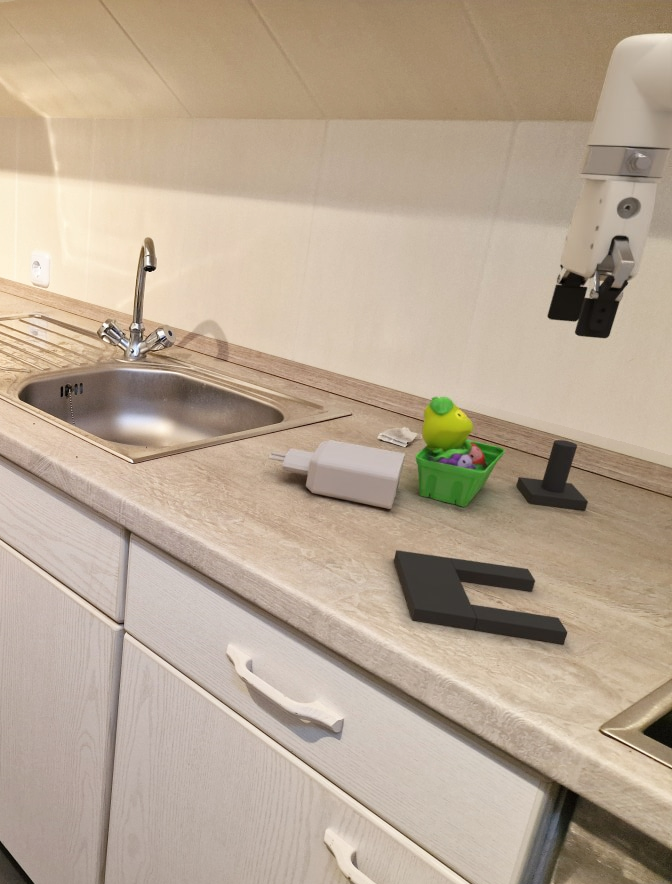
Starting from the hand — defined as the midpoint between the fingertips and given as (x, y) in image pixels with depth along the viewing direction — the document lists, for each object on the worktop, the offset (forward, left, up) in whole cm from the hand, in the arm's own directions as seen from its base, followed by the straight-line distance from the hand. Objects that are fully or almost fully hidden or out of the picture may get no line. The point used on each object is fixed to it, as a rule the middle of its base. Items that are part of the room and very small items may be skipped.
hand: (575, 328), depth 96 cm
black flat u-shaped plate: (+13, +31, -20) cm, 39 cm away
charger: (+24, +6, -21) cm, 32 cm away
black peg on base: (-2, 0, -20) cm, 21 cm away
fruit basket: (+10, +2, -21) cm, 23 cm away
